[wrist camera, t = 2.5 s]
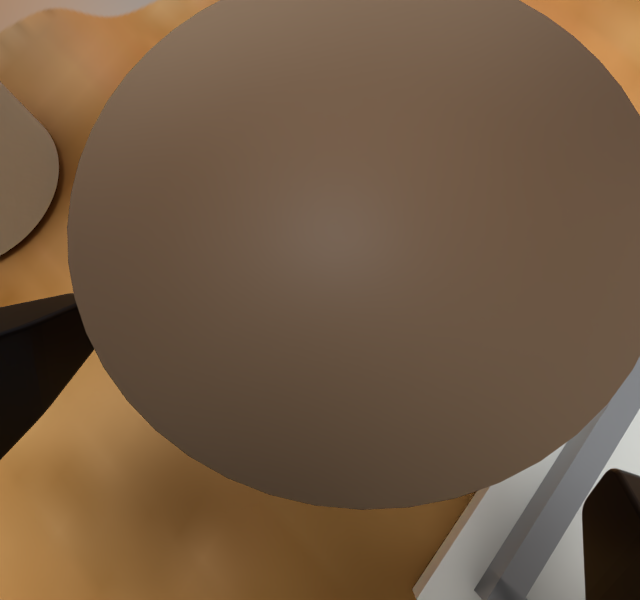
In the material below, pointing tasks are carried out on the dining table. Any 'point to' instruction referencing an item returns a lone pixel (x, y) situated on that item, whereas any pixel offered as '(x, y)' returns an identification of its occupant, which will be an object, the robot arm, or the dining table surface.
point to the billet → (363, 244)
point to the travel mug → (23, 170)
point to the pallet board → (536, 517)
